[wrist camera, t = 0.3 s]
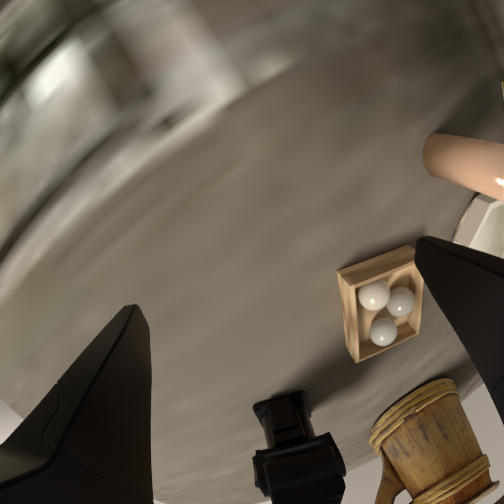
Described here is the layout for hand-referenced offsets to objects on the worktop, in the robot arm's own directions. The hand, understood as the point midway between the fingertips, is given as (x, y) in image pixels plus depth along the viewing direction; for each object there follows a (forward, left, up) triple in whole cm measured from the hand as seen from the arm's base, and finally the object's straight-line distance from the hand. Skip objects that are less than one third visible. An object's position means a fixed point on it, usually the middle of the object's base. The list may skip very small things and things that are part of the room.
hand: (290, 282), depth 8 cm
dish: (-14, -27, -14) cm, 33 cm away
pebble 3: (-14, -12, -13) cm, 23 cm away
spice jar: (-2, -19, -14) cm, 24 cm away
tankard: (-46, -16, -14) cm, 51 cm away
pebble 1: (-12, -9, -13) cm, 20 cm away
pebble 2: (-17, -10, -13) cm, 24 cm away
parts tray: (-15, -10, -14) cm, 23 cm away
